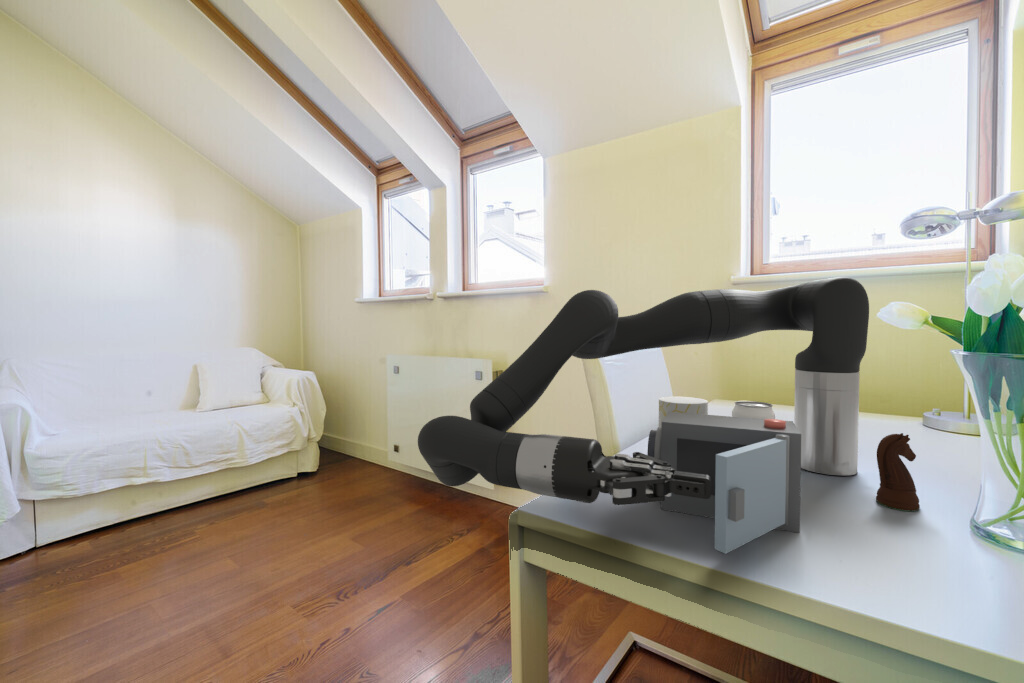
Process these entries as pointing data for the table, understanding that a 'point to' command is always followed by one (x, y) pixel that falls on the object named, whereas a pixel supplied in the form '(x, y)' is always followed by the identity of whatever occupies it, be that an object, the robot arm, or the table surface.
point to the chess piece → (896, 474)
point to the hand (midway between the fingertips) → (710, 487)
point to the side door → (751, 492)
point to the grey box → (703, 436)
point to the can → (753, 410)
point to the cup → (681, 406)
